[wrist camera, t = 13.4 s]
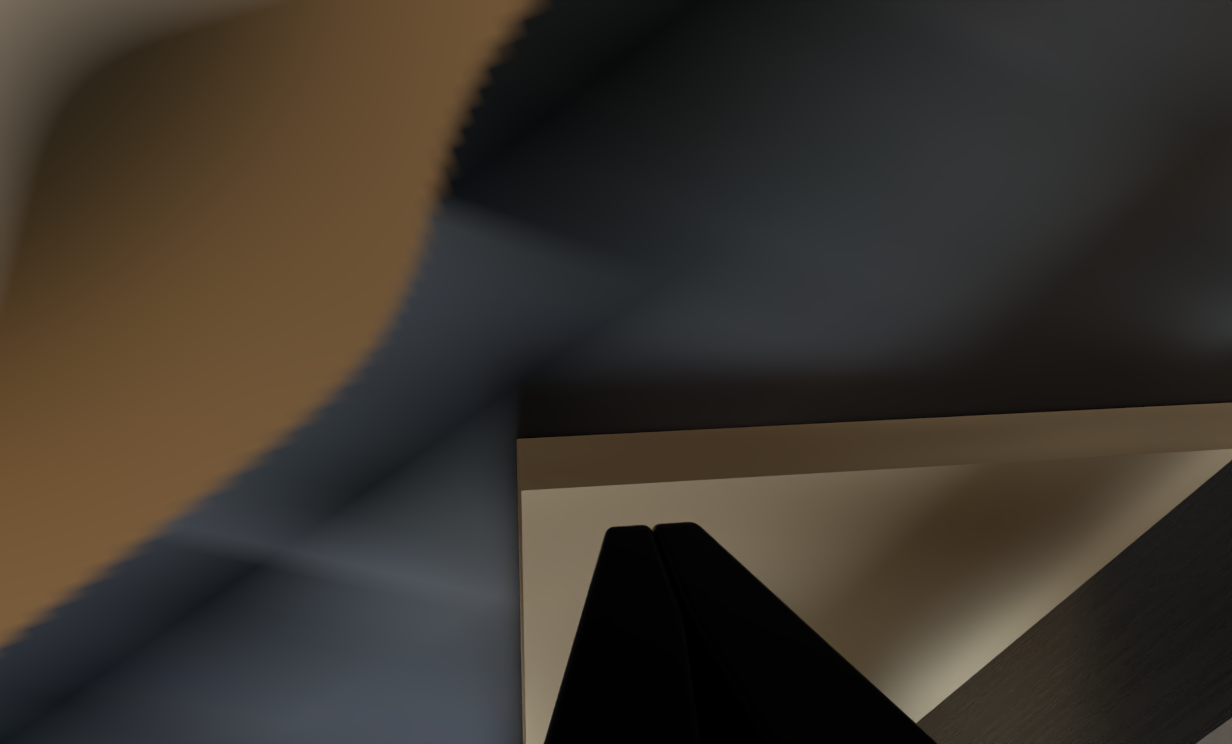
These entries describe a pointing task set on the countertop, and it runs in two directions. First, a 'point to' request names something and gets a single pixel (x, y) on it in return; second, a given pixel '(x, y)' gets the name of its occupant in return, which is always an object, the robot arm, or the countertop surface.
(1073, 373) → the countertop surface
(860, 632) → the tool board
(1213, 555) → the crank handle
